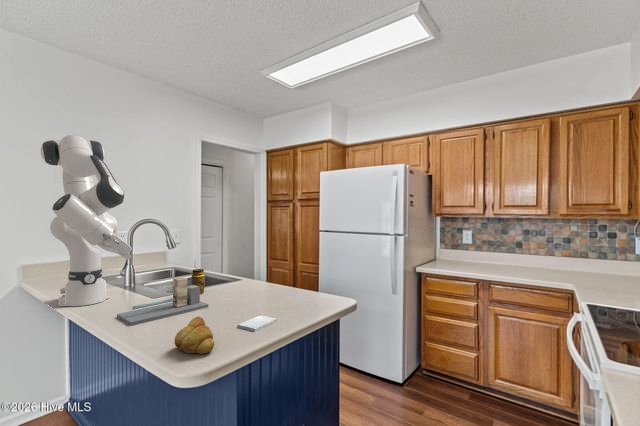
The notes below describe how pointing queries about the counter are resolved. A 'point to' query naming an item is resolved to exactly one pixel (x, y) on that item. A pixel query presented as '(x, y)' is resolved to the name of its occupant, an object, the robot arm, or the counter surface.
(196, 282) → the condiment
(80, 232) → the robot arm
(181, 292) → the notched wooden block
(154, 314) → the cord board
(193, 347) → the bread roll
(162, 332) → the counter surface
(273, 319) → the hard drive
